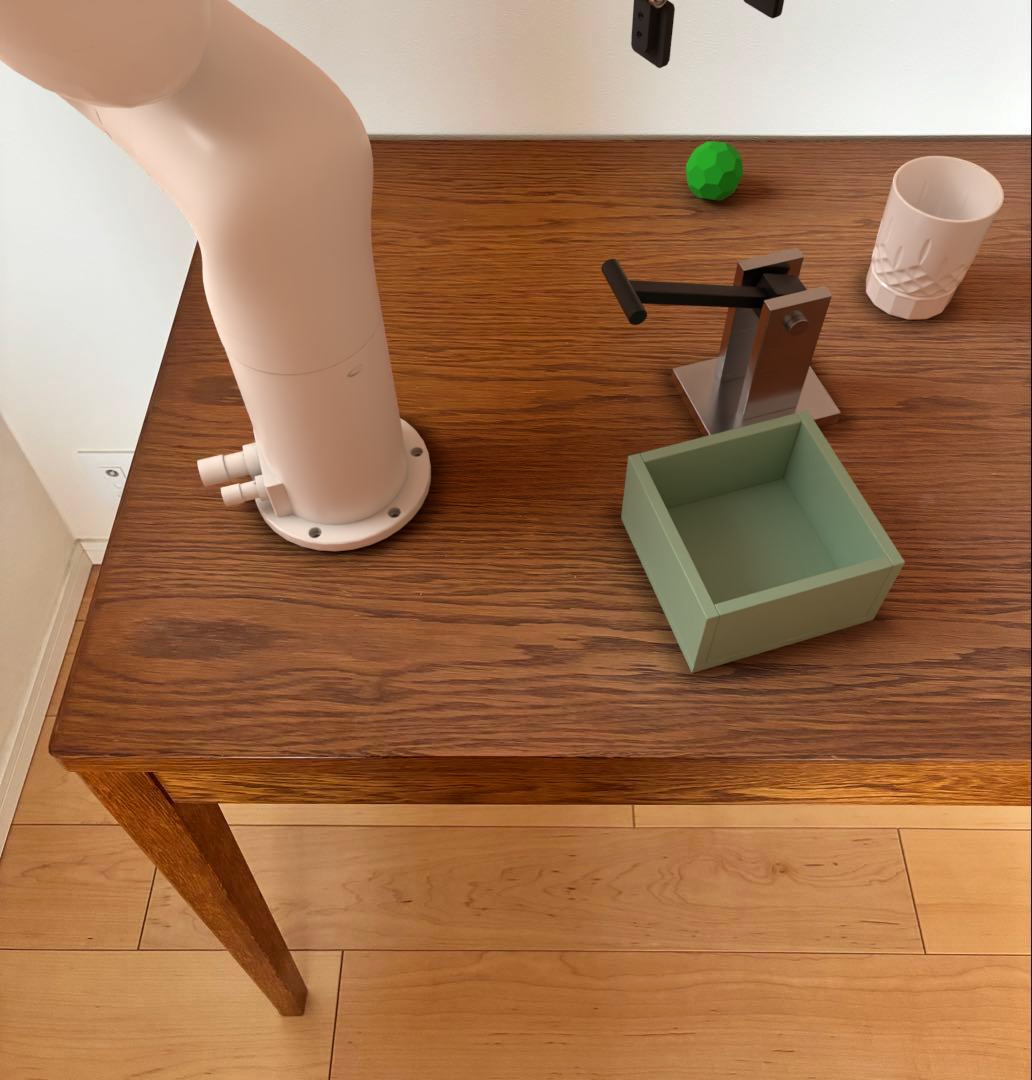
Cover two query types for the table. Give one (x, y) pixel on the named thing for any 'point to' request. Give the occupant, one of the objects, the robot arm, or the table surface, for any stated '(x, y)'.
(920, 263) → the white cup
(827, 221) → the table surface
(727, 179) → the polyhedron
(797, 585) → the bin
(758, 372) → the bracket
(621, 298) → the lever
